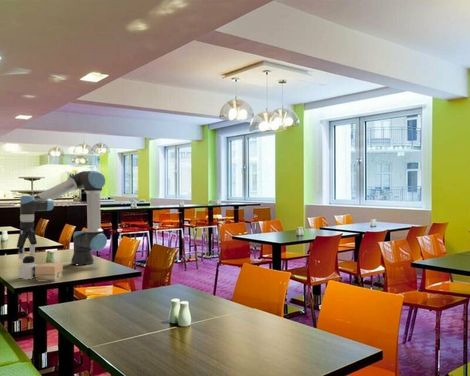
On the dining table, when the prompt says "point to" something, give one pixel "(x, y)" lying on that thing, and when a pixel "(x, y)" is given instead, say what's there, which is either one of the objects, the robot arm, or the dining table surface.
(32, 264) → the container
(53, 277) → the tower bottom
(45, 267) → the tower top
